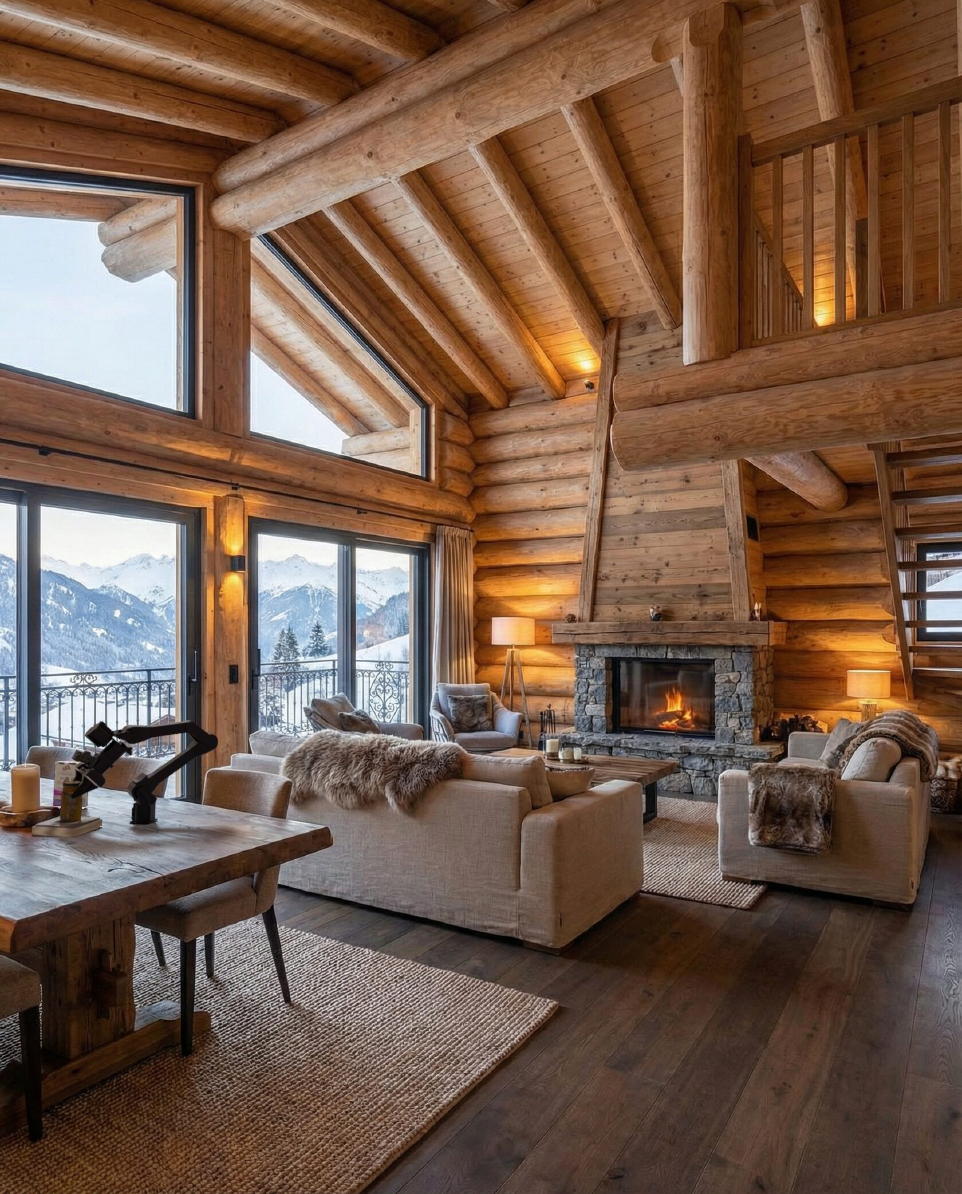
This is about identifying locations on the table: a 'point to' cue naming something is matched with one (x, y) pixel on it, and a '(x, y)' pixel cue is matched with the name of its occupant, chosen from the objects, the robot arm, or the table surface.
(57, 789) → the candy bar box
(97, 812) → the table surface
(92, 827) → the birch base
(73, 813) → the condiment
